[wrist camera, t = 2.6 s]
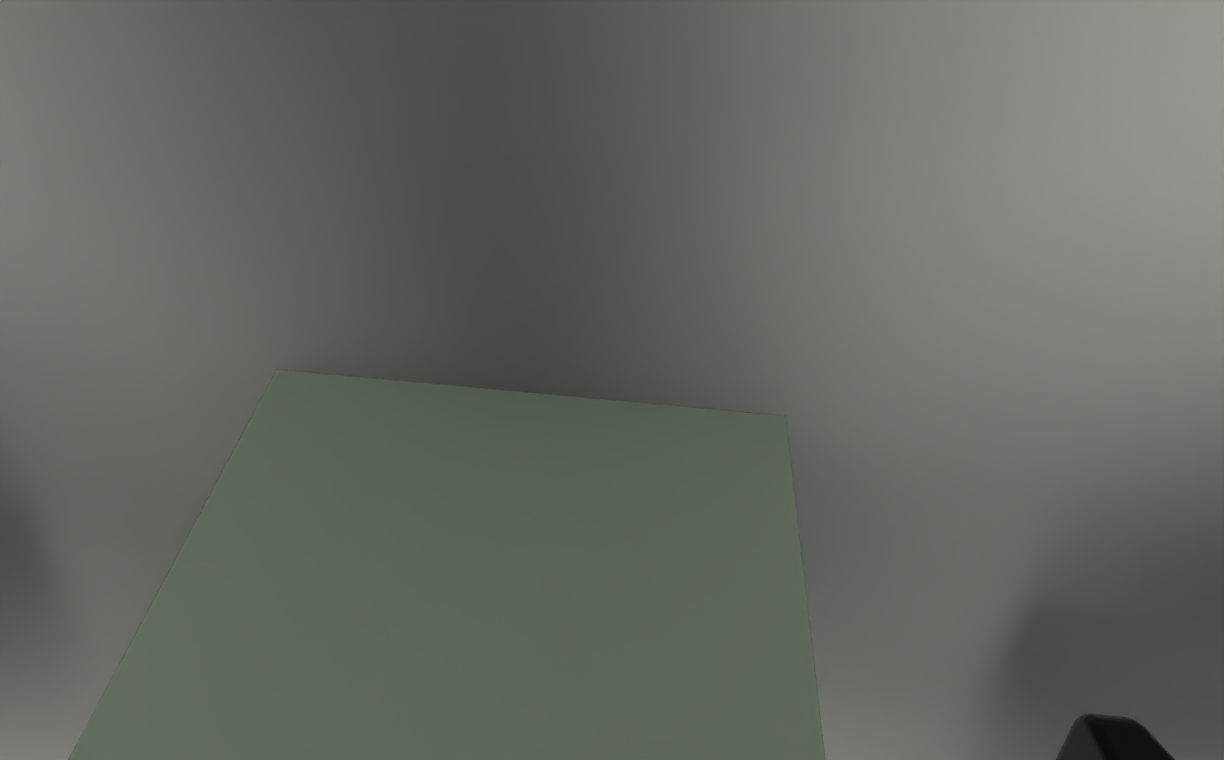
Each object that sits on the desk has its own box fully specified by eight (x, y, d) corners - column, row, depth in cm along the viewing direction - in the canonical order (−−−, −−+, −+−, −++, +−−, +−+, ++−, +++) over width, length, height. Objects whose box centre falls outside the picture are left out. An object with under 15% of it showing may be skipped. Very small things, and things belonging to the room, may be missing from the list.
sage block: (720, 728, 11) (732, 1203, 8) (320, 692, 11) (166, 1151, 8) (784, 410, 9) (841, 895, 5) (279, 363, 9) (34, 819, 5)
